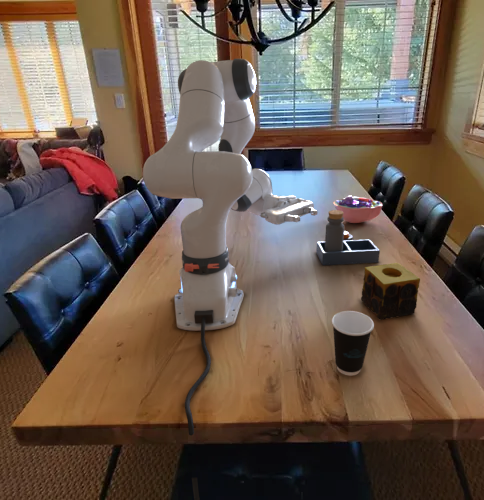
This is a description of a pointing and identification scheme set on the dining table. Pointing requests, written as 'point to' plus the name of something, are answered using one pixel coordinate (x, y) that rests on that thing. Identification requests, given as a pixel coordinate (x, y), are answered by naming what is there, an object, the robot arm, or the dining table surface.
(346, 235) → the button
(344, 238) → the control block
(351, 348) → the dixie cup
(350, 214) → the cell model
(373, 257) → the tray
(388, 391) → the dining table surface
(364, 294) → the candle
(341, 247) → the bottle
